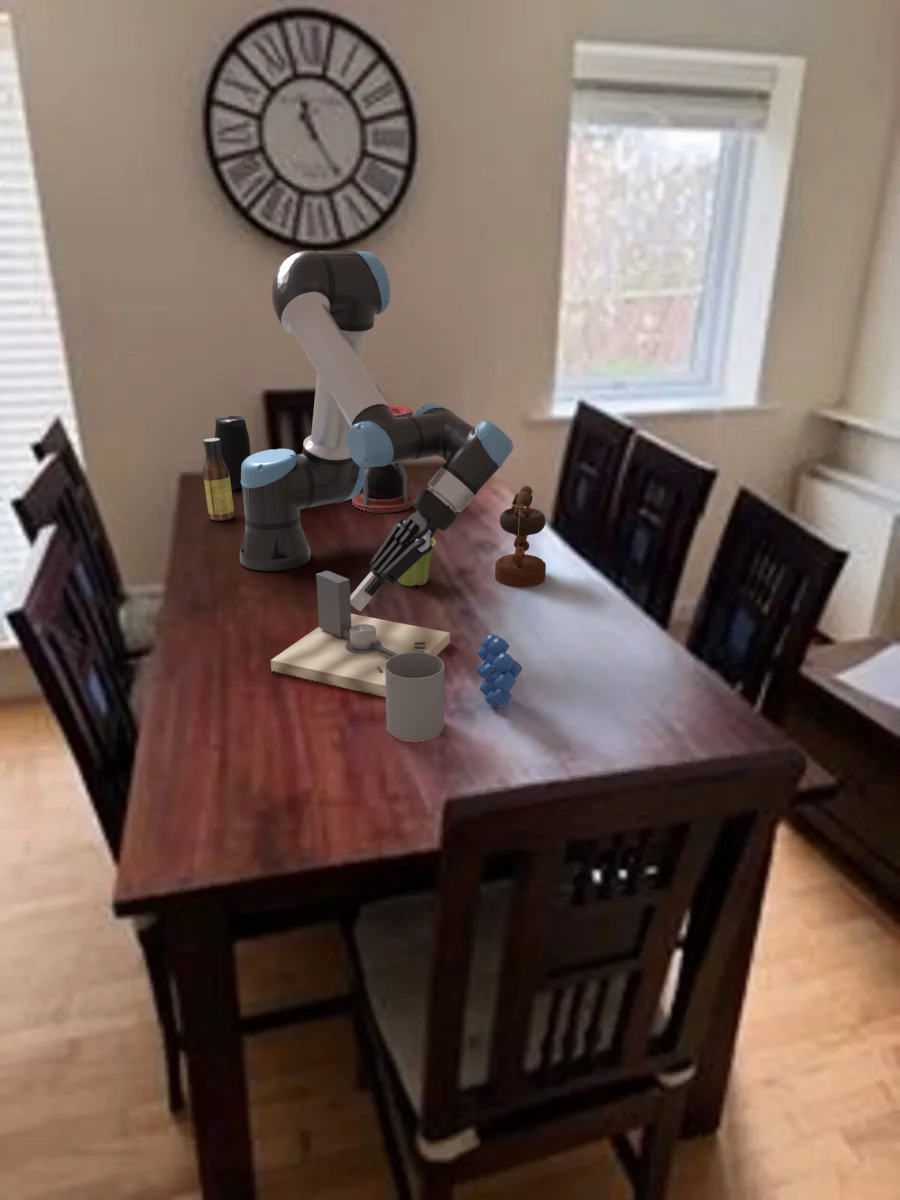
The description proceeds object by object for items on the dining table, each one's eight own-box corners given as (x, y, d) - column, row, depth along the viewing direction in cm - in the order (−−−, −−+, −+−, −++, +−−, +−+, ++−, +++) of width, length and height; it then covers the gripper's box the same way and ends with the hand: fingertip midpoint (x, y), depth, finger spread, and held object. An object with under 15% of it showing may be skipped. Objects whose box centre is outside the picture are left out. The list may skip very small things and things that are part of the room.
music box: (551, 590, 177) (547, 494, 170) (496, 594, 178) (490, 498, 170) (544, 563, 191) (540, 474, 184) (493, 567, 192) (488, 478, 184)
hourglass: (425, 502, 235) (425, 408, 226) (389, 517, 223) (387, 417, 213) (377, 493, 243) (374, 401, 234) (339, 507, 231) (335, 411, 221)
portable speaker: (254, 490, 245) (248, 420, 237) (219, 493, 242) (212, 421, 235) (252, 482, 252) (246, 414, 245) (218, 485, 250) (211, 415, 242)
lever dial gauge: (411, 657, 143) (410, 600, 139) (391, 666, 140) (390, 608, 136) (334, 622, 156) (331, 569, 152) (314, 629, 153) (311, 575, 149)
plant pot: (443, 577, 183) (443, 538, 180) (423, 592, 176) (423, 551, 172) (403, 570, 187) (402, 531, 184) (381, 585, 179) (381, 544, 176)
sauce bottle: (239, 516, 223) (232, 437, 215) (225, 522, 217) (218, 443, 210) (216, 513, 225) (209, 435, 217) (202, 520, 219) (194, 440, 212)
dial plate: (271, 671, 144) (270, 658, 143) (340, 621, 162) (340, 610, 161) (391, 698, 135) (391, 685, 134) (449, 643, 154) (449, 631, 153)
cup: (386, 713, 131) (384, 652, 127) (441, 711, 132) (441, 651, 128) (387, 743, 123) (385, 679, 120) (445, 741, 124) (446, 677, 120)
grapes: (535, 721, 129) (538, 647, 125) (491, 727, 127) (493, 653, 123) (508, 685, 140) (511, 615, 135) (468, 690, 138) (469, 620, 133)
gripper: (471, 524, 147) (380, 632, 148) (442, 504, 158) (358, 604, 159) (441, 497, 143) (347, 608, 144) (414, 478, 154) (327, 581, 155)
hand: (353, 605), depth 151 cm, fingers closed
